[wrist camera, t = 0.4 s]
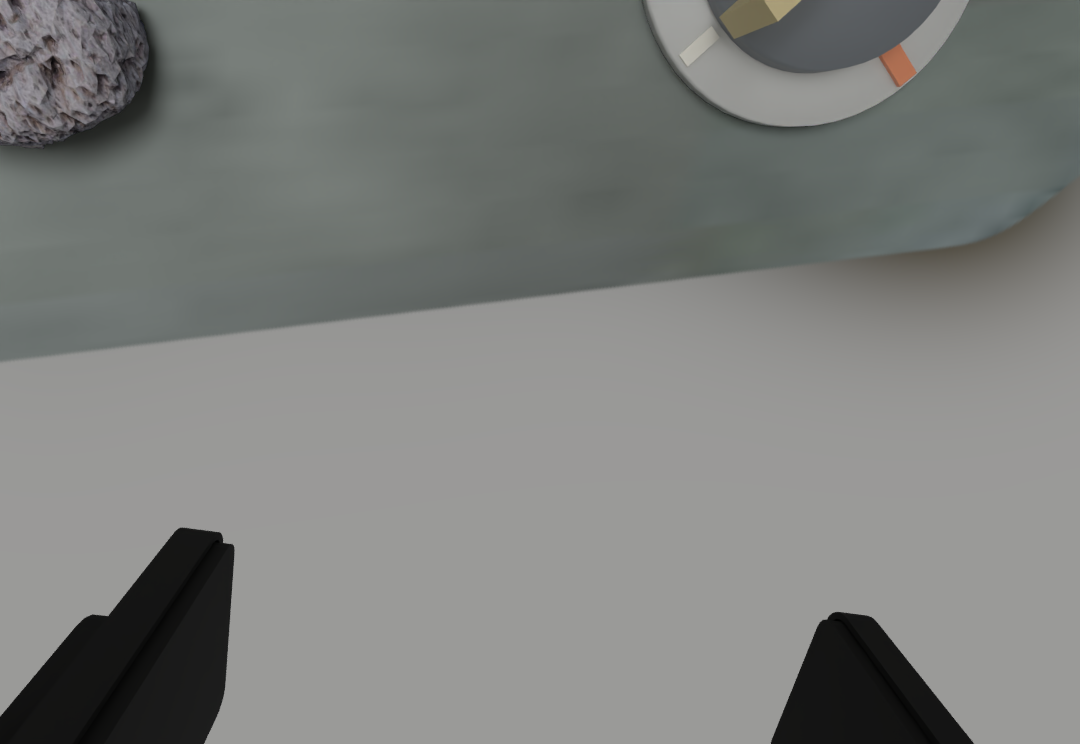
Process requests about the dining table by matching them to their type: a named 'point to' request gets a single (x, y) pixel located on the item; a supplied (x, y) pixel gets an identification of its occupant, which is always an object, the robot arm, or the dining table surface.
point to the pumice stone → (66, 66)
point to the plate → (780, 94)
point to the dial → (819, 30)
